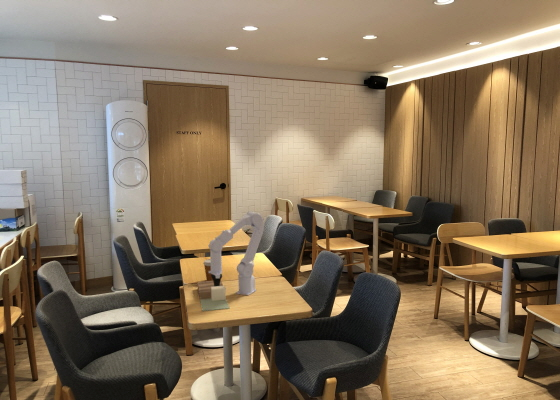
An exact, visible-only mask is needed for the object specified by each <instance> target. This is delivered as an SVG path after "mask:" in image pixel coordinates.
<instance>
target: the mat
mask: <svg viewBox="0 0 560 400" xmlns="http://www.w3.org/2000/svg"><path fill="white" fill-rule="evenodd" d="M199 300H200V305H201V310H202V312H209V311H218V310H228V309H229V310H230V306H229V303H228V300H227V298H226V297H225V300H218V301H212V300H211V298H210V299H200V298H199Z"/></svg>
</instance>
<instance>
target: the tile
mask: <svg viewBox="0 0 560 400" xmlns="http://www.w3.org/2000/svg"><path fill="white" fill-rule="evenodd" d="M226 291H227V288H226V285H223V286H215V287H211V300H212V301H218V300H225V298H226Z"/></svg>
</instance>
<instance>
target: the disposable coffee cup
mask: <svg viewBox="0 0 560 400" xmlns="http://www.w3.org/2000/svg"><path fill="white" fill-rule="evenodd" d="M202 264H203V267H204V272H205V278H206V281H213V279H212V277H211V275H212V274H211V273H209V271H211V260H210V258H208V259H205V260H204V261H203V263H202Z"/></svg>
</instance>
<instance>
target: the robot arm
mask: <svg viewBox="0 0 560 400" xmlns="http://www.w3.org/2000/svg"><path fill="white" fill-rule="evenodd" d="M245 226H251V228H252V234H251V237H250V239H249V242H248V245H247V248H246V251H245V253H244V257H243V258H242V259H241V260H240V262H239V263H238V264H237V266H236V271H237V273H238V291H236V292H235V294H237V295H244V296H250V295H251V294H253V293H255V292H256V291H257V289H256V279H255V276H254V275H253V274H254V267H255V264H254V259H255V257H256V254H257V251H258V249H259V248H258V247H259V246H260V243H261V239H262V237H263V233H264V231H265V228H264V227H265V226H264V218H263V216H262V214H261V213H259V212H254V211H252V210H251V211H248V212H246V213H245V214H244V215H243V216H242V217H241V218H240V219H239V220H238V221H237V222H236V223H235V224H234V225H232V226H231V227H230V229H225V230H222V231H221V233H220V234H219V235H218V236H216V237H214V239H211V240H210V241H209V244H208V245H207V246H208V249H209V250H210V252H209V253H210V256H209V257H210V258H209V259H210V260H211V271H209V273H211V274H212V275H211V277H212V279H213V282H214V287H215V286H220V281H221V282H222V278H223V267H222V266H223V265H222V263H223V262H222V250H223V247H224V246H225V245H226V244H228V243H229V242H230V241H231V240H232V239H233V238H234V235H235V234H236V233H237V232H238V231H240V230H241V229H242V228H244V227H245Z"/></svg>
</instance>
